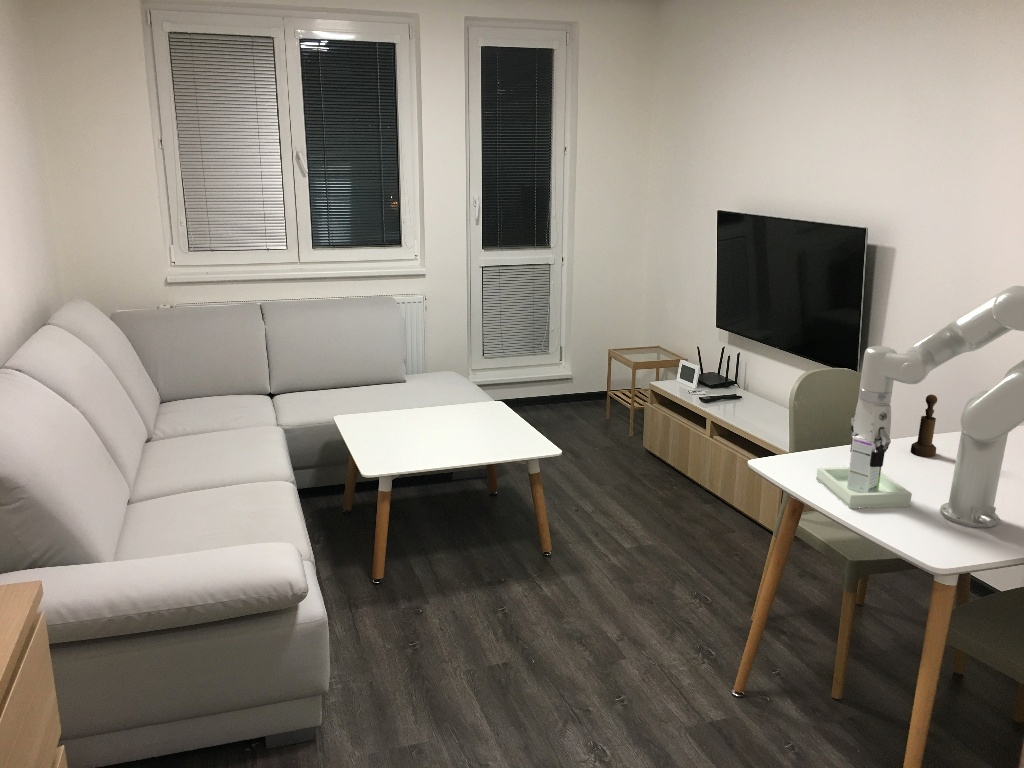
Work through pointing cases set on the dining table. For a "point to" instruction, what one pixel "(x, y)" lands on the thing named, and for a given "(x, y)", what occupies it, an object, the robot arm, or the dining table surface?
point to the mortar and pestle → (926, 431)
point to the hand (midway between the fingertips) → (865, 459)
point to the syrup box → (862, 467)
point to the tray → (883, 497)
